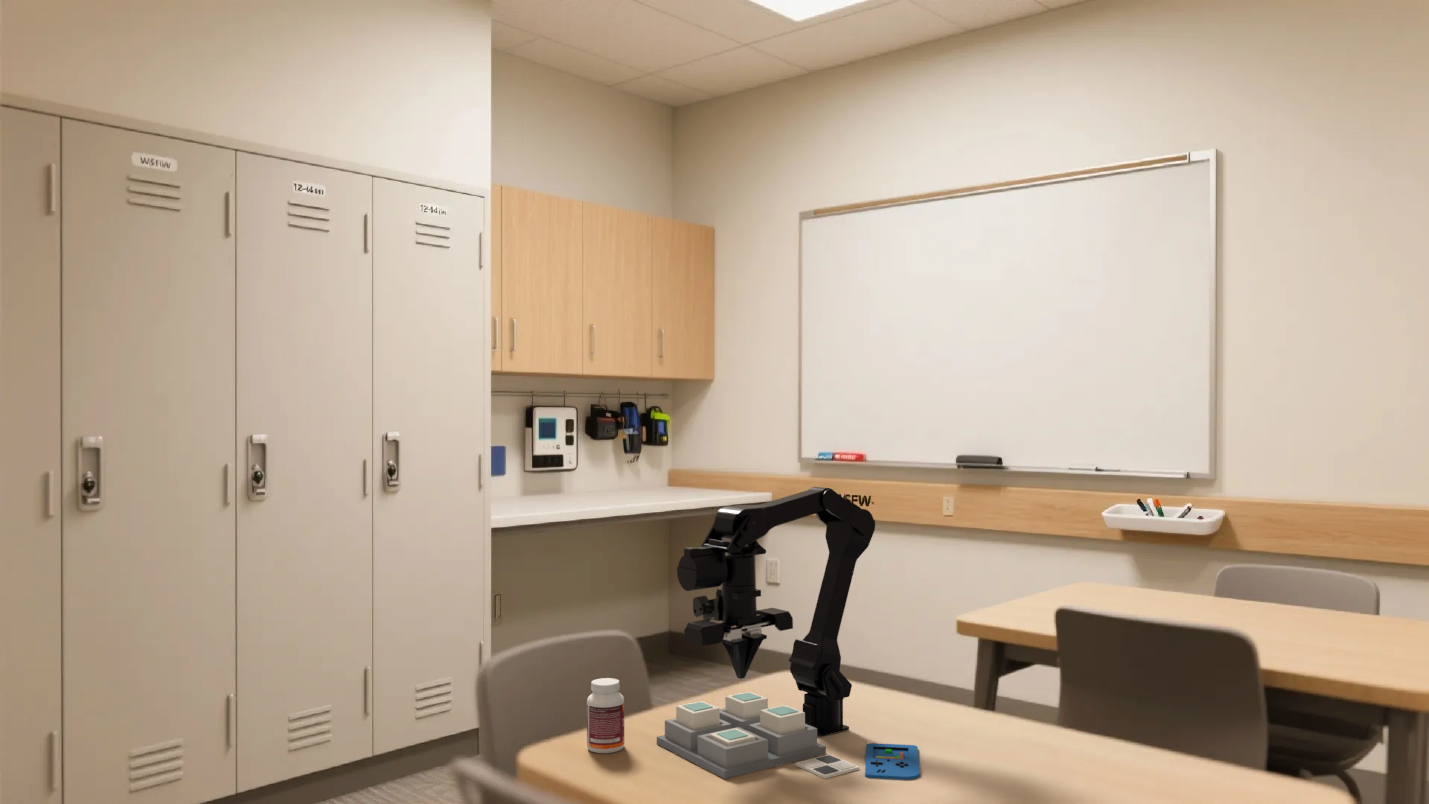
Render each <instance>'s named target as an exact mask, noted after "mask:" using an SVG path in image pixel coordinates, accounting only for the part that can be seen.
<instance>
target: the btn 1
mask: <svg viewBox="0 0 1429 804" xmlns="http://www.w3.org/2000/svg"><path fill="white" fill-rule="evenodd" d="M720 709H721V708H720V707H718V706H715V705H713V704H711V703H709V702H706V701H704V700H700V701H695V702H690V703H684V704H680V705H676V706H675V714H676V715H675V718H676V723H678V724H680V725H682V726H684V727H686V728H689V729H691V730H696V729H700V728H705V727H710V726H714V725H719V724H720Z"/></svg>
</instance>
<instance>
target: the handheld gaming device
mask: <svg viewBox="0 0 1429 804" xmlns="http://www.w3.org/2000/svg"><path fill="white" fill-rule="evenodd" d="M918 748H919V747H918V746H917V745H915V744H895V743H875V742H871V743H870V742H869V743H867V744H866V747H865V749H866V750H865V767H864V769H865V770H864V777H865V778H866V779H867V778H868V779H879V780H883V779H884V780H899V781H900V780H901V781H910V780H912V781H913V780H916V779H918V778H920V777H921V768H920V767H921V766H920V758H919V757H920V756H919V749H918Z"/></svg>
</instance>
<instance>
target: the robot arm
mask: <svg viewBox="0 0 1429 804" xmlns="http://www.w3.org/2000/svg"><path fill="white" fill-rule="evenodd" d="M813 515H816V518H817V520H819V521H820V522H821V523H822V524H823V525H825V526H826V529H825V536H824V537H825V541H826V545H827V550H828V556H827V561H826V565H825V568H824V574H823V578H822V581H821V585H820V589H819V593H818V597H817V602H816V605H815V609H814V613H813V617H812V620H811V625H810V628H809V631H808V633H807V634H806V635H805V636H804V638H803V639H799V638H796V639H794V641H793V646H792V647H793V648H792V653H791V655H790V657H789V659H788V662H790V667H789V670H790V671H789V672H790V673H791V675H792V678H793V679H794V680H795V684H796V686H797V690H798V691H801V692H805V693H804V694H803V698H804V699H803V700H804V701H803V703H802V711H803V712H805V724H807V725H810V726H812V727H815V728H817V736H820V737H823V736H829V735H833V734H838V733H842V732H845V731H849V730H850V726H848V725H846V724H844V699H846V698H849V697H850V695H851V691H852V686H853V685H852V683H851V682H850V681H849V680H848V678H847V677H846V676H844V674H843V673H842V672H841V664H842V656H841V652H840V647H839V642H838V636H839V633H840V629H841V625H842V624H841V623H842V619H843V616H844V612H845V608H846V604H847V599H848V597H849V592H850V587H851V583H852V580H853V575H854V573H855V567H856V563H857V560H858V559H859V558H860V556H862V554H863V553H865V551H866V550H867V549H868V548H869V546H870V543H871V541H872V538H873V535H874V533H875V530H876V529H875V528H876V520H875V519H874V517H873V514H872V513H871V512H870V511H869V510H868V509H866V508H861V507H860V506H859V505H858V504H855V503H853V502H852V501H850V500H849V499H846V498H845V497H843V496H841V495H840V494H839V493H838V492H837V491H835V490H834V489H832V488H830V487H821V486H812V487H811V488H809V489H806V490H804V491H800V492H798V493H797V492H796V493H794V494H791V495H787V496H784V497H781V498H778V499H774V500H771V501H768V502H764V503H761V504H744V505H743V504H741V505H740V504H739V505H729V506H728V505H727V506H723V507H722V508H719V509H718V510H717V514H716V515H715V519H714V521H713V524H712V525H711V527H710V529H709V531H708V532H707V535H706V537H705V538H704V540H703V542H702V543H701V546H699V547H693V546H689V547H684V549H683V555H682V556H681V558H680V559H679V561H678V565H677V567H676V575H677V578H678V579H677V580H678V583H679V584H680V586H681V588H682V589H683V590H684V591H686V592H692V591H697V590H703V589H705V590H706V589H710V588H711V589H712V588H717V589H716V591H715V598H712V599H709V598H708V597H707V595H701V596H700V595H699V596H696V597H694V598H693V599H692V611H693V615H694V616H695V618H700V617H702V620H701V619H700V620H696V621H690V622H687V624H686V625H685V627H684V629H683V632H684V635H683V636H684V640H685V641H688V642H691V643H694V644H696V645H701V646H710V645H711V646H712V645H717V644H721V645H722V646H723V647H724V649H725V651H726V653H727V654H728V657H729V661H731V664H732V668H733V670H734V672H735V675H736V677H737V679H739V680H740V679H741V680H742V679H745V678H746V676H747V674H748V672H749V670H750V667H751V665H752V662H753V660H754V658H755V656H756V653H757V652H758V650H759V649H760V646H761V645H762V642H763V641H764V640H766V639H768V635H767V634H763V633H762V628H766V627H770V626H774V627H775V628H776V629H777V630H778V631H779V632H782V631H787V630H793V629H794V619H793V616H792V614H791V612H790V611H788V610H784V609H780V608H775V607H769V608H764V609H763V608H762V609H757V608H758V607H757V598H758V597H762V590H761V589H759V588H758V589H757V577H756V574H757V572H756V571H757V569H756V556H757V555H759V556H760V555H766V553H767V550H766V549H765V548H764V547H763V546H762V545H760V544H759V542H758V540H759V539H761V538H763V537H765V536H766V535H767V534H768V533H769V531H770V530H772V529H773V528H775V527H778V526H781V525H783V524H784V525H785V524H788V523H790V522H794V521H796V520H799V519H803V518H807V517H809V516H813ZM718 587H721V588H718ZM713 620H714V622H713ZM715 621H717V622H715ZM720 621H721V622H720ZM719 622H720V623H719Z"/></svg>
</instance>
